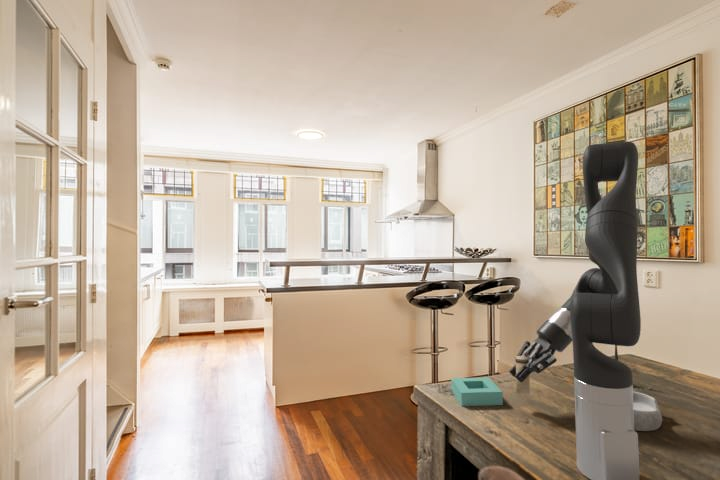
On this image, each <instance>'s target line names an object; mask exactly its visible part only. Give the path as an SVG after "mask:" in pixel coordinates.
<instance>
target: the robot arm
mask: <svg viewBox="0 0 720 480" xmlns="http://www.w3.org/2000/svg"><path fill="white" fill-rule="evenodd" d="M638 169H639V150H638V147H637V145H636V144H635V143H634V142H633V141H615V142H605V143H595V144H594V143H593V144H590V145H587V146H586V148H585V149H584V153H583V156H582V178H583V189H584V199H585V206H586V207H585V208H586V213H587V216H586V219H585V220H586V221H585V235H584V242H585V245H586V247H587V250H588V252H587V253H588V258H589V260H590V261H591V262H592V263H593V264H595V265H597V267H594V268H590V269H588V270H586V271H584V273H582V275H581V276H580V278H579V279H578V281H577V283H576V286H575V288H574V289H573V290H572V294H571V295H570V297H569V298H568V299H567V300H566V301H565V302H564V303H563V304H562V305H561V306H560V307H559V309H557V310H555V311H554V312H553V313H552V314H551V315H550V316H549V317H548V319H547V320H546V321H545V322H544V323H543V324H542V325H541V326H540V327H539V328H538V329H537V330H536V335H538V337H537V338H536V339H534V340H533V341H532V342H530V341H529V340H526V341H524V343H523V345H522V346H521V349H520V350H519V352H518V353H517V354H516V356H526V357H528V358H529V361H528V362H527V363H526V364H525V366H526V367H525V366H523V367H522V368H521V369H520V370H519V372H518V373H517V374H516V363H515V364H514V365H513V366H512V367H511V368H510V369H509V371H508V373H509V374H510V375H511V376H512V377H513V378H515V380H516V379H517V380H518V381H520V382H523V381H524V380H525V379H526V378H527V377H528V376H529V377H530V375H531V374H534V373H536V374H540V373H542V372H543V371H544V370H546V369H547V368H549V367H551V366H552V365H554V364H555V363H556V362H557V361H558V359H557V358H556V357H555V356H554V355H555V354H556V352H557V353H558V352H559V353H562V352H564V351H565V349H566V348H567V347H569V345H570V344H571V343H572V354H573V355H572V356H573V358H572V359H573V379H574V380H573V381H574V384H573V385H574V419H575V420H574V423H575V444H576V447H575V449H576V468H577V470H578V471H579V472H580V473H581V474H582V475H583V476H584V477H586V478H587V479H589V480H640V460H639V433H637V432H638V431H636V430H634V410H633V389H634V385H633V380H634V379H633V378H634V377H633V371H632V369H631V368H630V367H629V366H628V364H625V363H624V362H622V361H619V360H618V361H617V360H615V358H613V357H610V356H608V355H606V354H604V353H603V352H602V351H600V350H599V349H598V348H596V346H595V345H594V343H595V344H600V345H601V344H603V345H609V346H611V345H612V346H615V345H617V347H618V346H620V347H633V346H635V345H636V344H637V343H638V342H639V340H640V338H641V337H640V336H641V331H642V329H641V328H642V326H641V325H642V324H641V310H640V309H641V308H640V298H639V297H640V296H639V294H640V293H639V285H638V284H639V283H638V273H637V272H638V271H637V267H638V266H637V265H638V264H637V259H638V258H637V257H638V256H637V255H638V233H639V232H638V216H637V215H638V212H637V182H638ZM601 182H602V183H605V182H606V183H607V182H616V183H615V184H614V186H613V187H612V188H611V190H609V192H608V193H605V194H606V195H604V196H601V194H600V189H599V183H601Z"/></svg>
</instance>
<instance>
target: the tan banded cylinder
mask: <svg viewBox="0 0 720 480" xmlns="http://www.w3.org/2000/svg"><path fill="white" fill-rule="evenodd" d="M514 359H515V364H516V374H517V373H518V372H519V370H520V369H521V368H522V367H523V366H525V364H526V363H527V362H528V361H529V358H528V357H526V356H517V355H516V356H515V357H514ZM525 367H526V366H525ZM530 383H531V382H530V375H529V376H528V377H527V378H526V379H525V380H524V381H523V382H520V381H518V380H517V379H516V378H515V384H516V385H515V387H516V391H515V392H516V393H517V394H518V395H522V396H523V395H524V396H528V395H530V393H531V389H530V388H531V387H530V386H531V385H530Z"/></svg>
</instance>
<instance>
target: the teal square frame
mask: <svg viewBox="0 0 720 480" xmlns="http://www.w3.org/2000/svg"><path fill="white" fill-rule="evenodd" d="M450 381H451V382H450V383H451V384H450V385H451V388H450V389H451V392H452V393H453V395H454V396H455V398H456V400H457V401H458V403H459V404H460V406H461V407H475V406H477V407H478V406H503V405H504V401H503V400H504V399H503V398H504V396H503V391H502V390H501V388H499V387H498V386H497V385H496V384H495V382H494V381H493V380H492V379H490V378H489V376H488V377H457V378H455V377H451V378H450Z"/></svg>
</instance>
